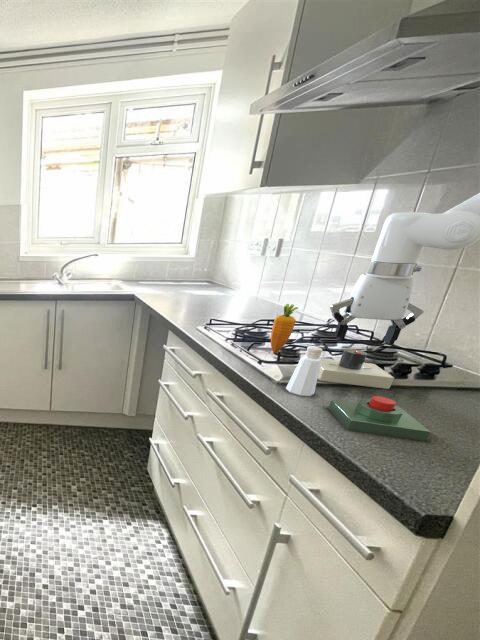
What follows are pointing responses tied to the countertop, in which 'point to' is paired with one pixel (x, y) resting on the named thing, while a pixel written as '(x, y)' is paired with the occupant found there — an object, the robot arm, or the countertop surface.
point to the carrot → (282, 328)
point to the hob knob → (352, 359)
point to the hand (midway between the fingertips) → (363, 341)
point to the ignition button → (382, 403)
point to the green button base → (377, 420)
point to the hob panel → (354, 374)
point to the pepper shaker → (306, 373)
